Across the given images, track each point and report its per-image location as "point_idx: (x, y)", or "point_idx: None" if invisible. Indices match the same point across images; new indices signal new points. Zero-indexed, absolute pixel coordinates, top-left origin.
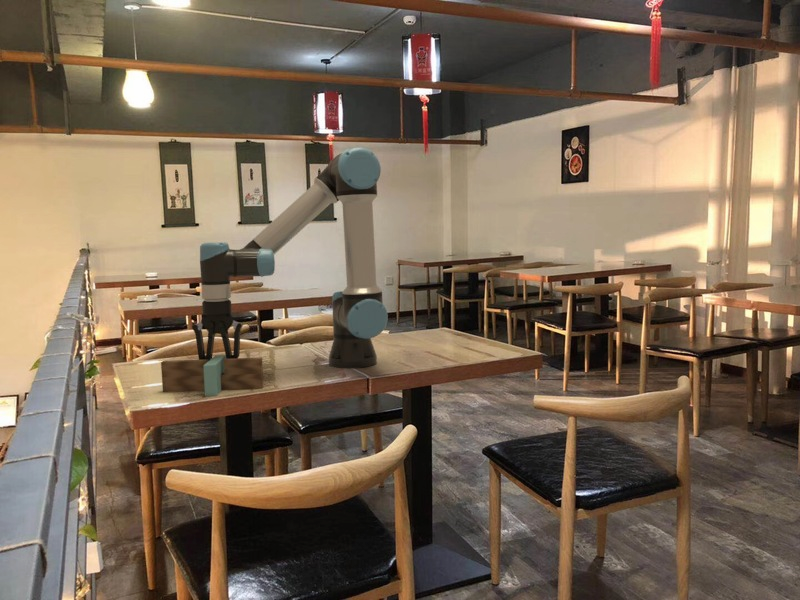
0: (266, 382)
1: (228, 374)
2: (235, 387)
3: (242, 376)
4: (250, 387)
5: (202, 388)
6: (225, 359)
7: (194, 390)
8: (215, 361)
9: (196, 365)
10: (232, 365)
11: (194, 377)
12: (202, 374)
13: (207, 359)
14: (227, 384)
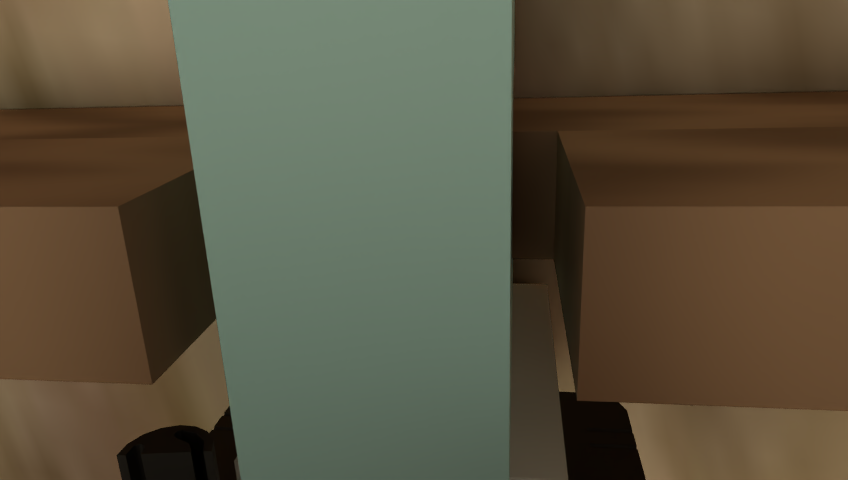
0: (7, 391)
1: None
2: None
3: (15, 134)
4: (34, 113)
5: (622, 100)
6: (109, 290)
7: (730, 94)
8: (287, 68)
9: (842, 171)
10: (20, 173)
11: (790, 121)
12: (649, 134)
13: (591, 378)
14: None
